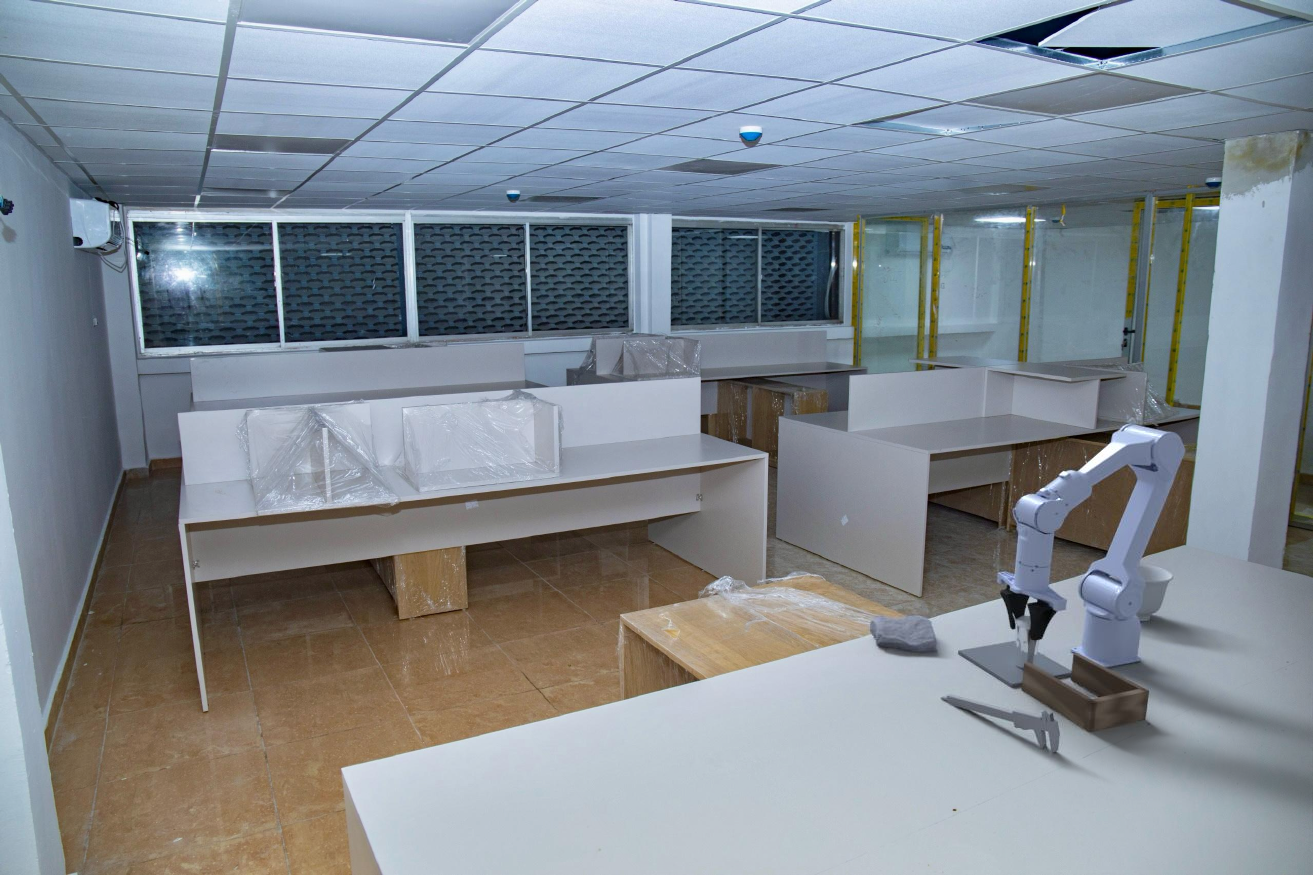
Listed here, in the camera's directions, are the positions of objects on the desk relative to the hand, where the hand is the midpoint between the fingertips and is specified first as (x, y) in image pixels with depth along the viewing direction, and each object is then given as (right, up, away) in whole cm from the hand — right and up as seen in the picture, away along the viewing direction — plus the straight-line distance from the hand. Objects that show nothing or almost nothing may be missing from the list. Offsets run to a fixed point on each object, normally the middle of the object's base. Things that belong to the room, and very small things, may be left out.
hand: (1026, 633), depth 155 cm
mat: (-1, -6, +3) cm, 7 cm away
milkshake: (0, -6, +1) cm, 6 cm away
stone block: (-19, -5, +12) cm, 23 cm away
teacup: (+33, -2, +27) cm, 43 cm away
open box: (+5, -9, -11) cm, 15 cm away
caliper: (-12, -11, -17) cm, 24 cm away
